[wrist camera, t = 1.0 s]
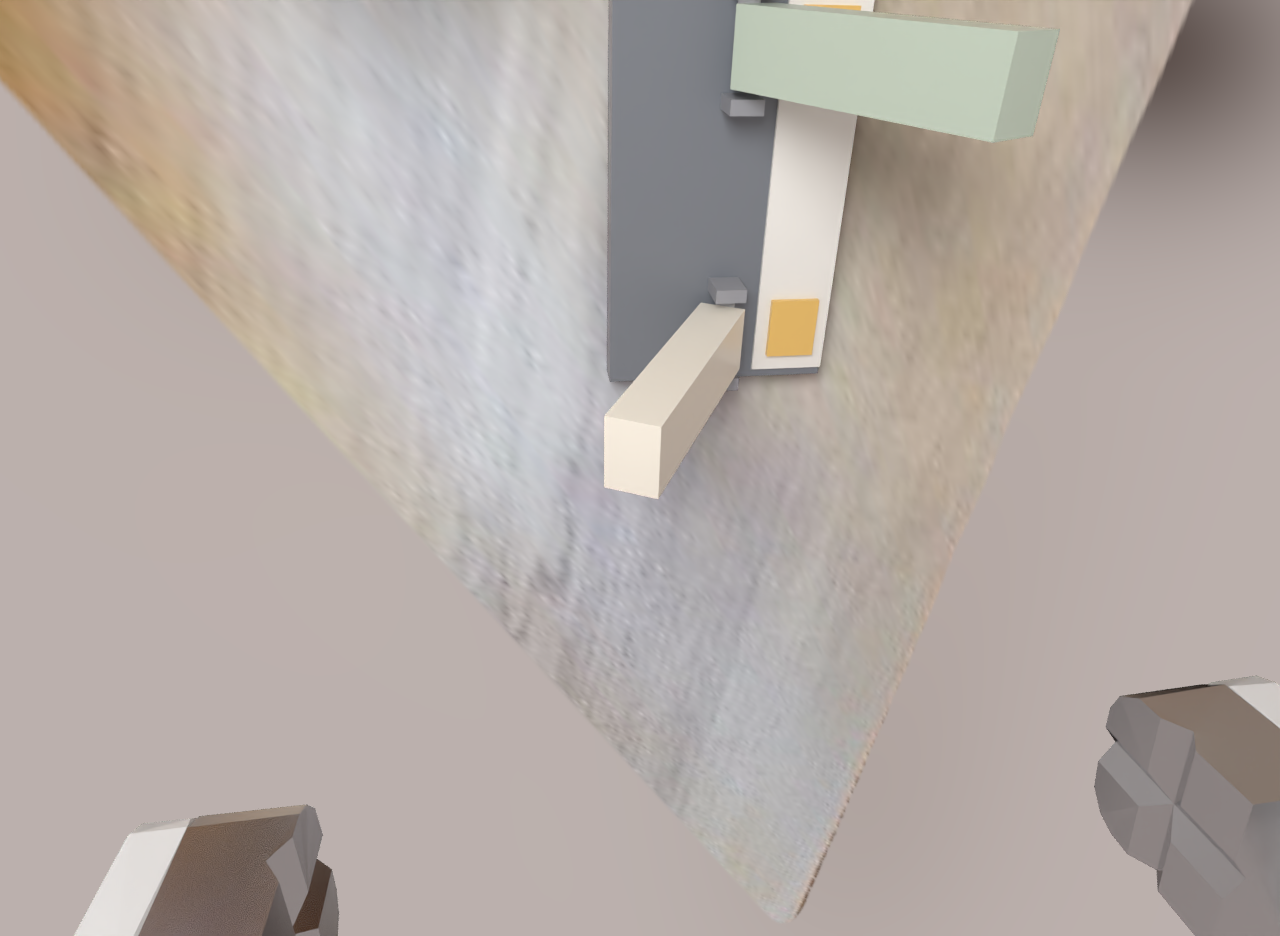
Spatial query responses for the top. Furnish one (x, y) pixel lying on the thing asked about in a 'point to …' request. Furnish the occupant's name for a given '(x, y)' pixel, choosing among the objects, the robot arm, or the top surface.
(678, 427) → the bar
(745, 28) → the bar
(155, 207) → the top surface
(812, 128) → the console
